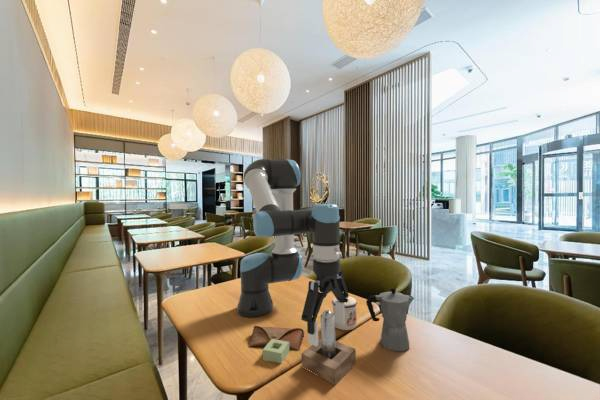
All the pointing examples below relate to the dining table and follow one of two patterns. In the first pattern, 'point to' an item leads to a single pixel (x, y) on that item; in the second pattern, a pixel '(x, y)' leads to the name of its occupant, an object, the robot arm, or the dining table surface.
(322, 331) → the silver metal cylinder
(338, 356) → the brown square holed block
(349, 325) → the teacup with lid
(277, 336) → the sunglasses case
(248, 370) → the dining table surface
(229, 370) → the dining table surface
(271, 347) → the pale green holed block
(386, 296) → the coffeepot
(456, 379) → the dining table surface
